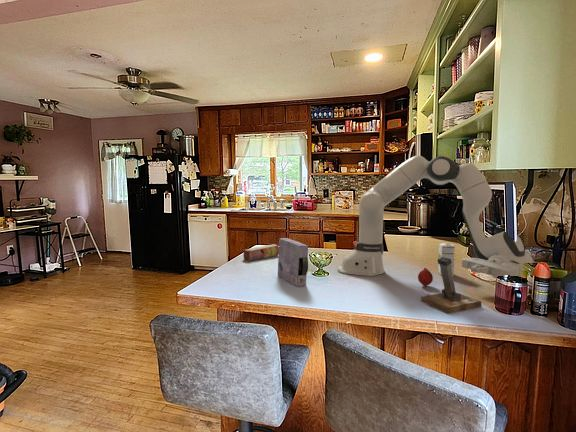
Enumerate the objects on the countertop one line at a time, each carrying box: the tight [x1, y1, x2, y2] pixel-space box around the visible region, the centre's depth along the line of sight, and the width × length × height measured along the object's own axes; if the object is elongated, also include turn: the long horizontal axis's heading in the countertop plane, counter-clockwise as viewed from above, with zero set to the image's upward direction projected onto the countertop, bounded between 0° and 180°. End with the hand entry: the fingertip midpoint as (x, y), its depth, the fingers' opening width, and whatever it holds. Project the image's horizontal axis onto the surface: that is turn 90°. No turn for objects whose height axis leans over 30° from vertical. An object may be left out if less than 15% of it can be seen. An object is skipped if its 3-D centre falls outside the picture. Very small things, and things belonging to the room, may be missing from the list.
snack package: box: [243, 243, 279, 262], centre depth 190 cm, size 21×7×7 cm, turn 130°
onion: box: [417, 267, 434, 287], centre depth 141 cm, size 6×6×8 cm
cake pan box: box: [277, 237, 309, 288], centre depth 147 cm, size 19×5×18 cm, turn 29°
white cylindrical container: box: [437, 242, 456, 277], centre depth 158 cm, size 6×6×14 cm
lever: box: [437, 257, 457, 299], centre depth 119 cm, size 2×4×15 cm, turn 23°
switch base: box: [420, 288, 482, 315], centre depth 121 cm, size 16×12×5 cm
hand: (474, 269), depth 126 cm, fingers closed
